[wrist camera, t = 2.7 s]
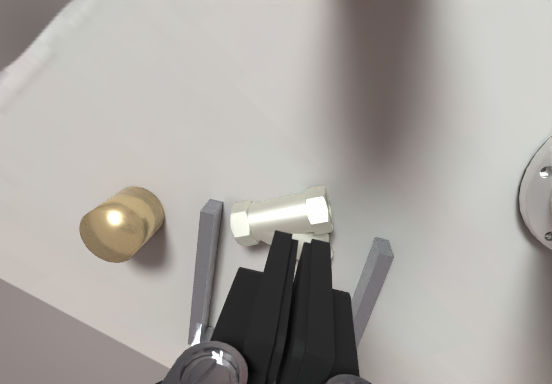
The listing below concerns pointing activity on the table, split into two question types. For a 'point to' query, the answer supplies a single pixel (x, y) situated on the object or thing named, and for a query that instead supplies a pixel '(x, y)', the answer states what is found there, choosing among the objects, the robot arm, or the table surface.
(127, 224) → the cylinder
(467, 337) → the table surface
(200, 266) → the pipe jig
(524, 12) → the table surface
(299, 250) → the pipe fitting
